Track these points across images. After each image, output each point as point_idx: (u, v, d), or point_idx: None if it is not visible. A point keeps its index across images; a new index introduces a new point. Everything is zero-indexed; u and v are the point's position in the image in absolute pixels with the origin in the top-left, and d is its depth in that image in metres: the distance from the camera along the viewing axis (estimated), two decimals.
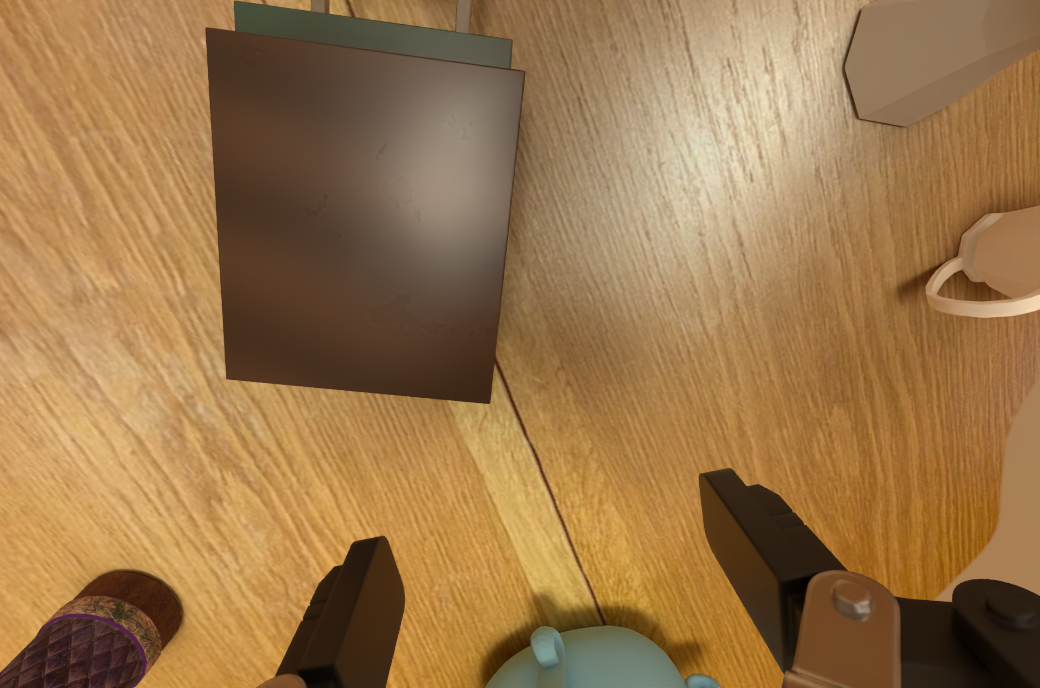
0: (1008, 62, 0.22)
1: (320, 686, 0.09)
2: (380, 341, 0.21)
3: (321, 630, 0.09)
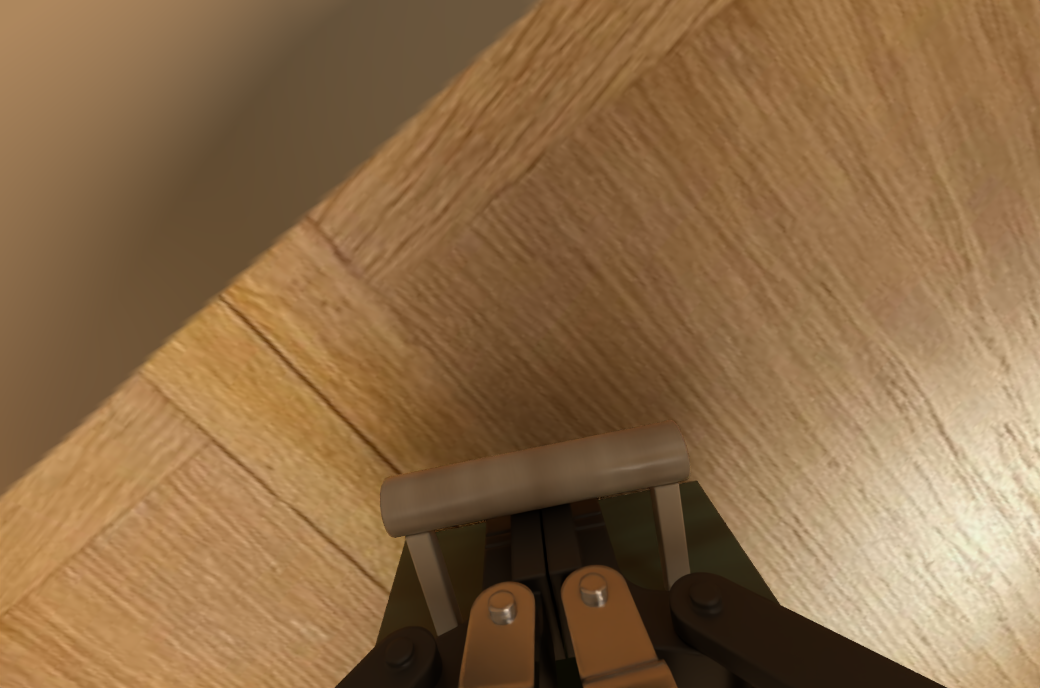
0: None
1: None
2: None
3: (518, 551, 0.10)
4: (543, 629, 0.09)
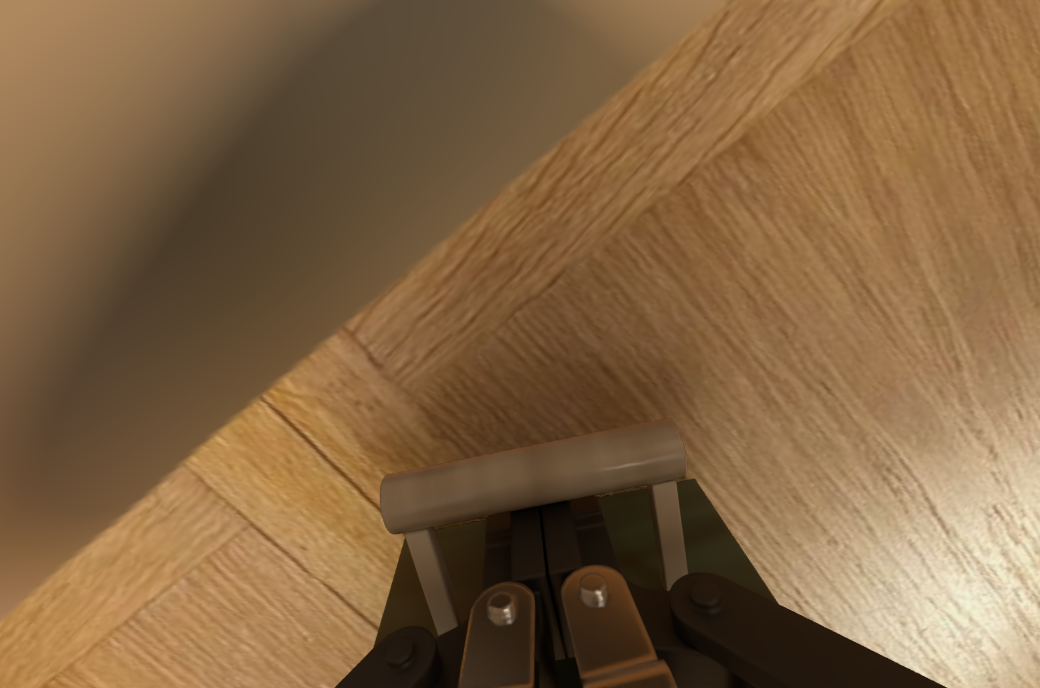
0: None
1: None
2: None
3: (518, 551, 0.10)
4: (543, 629, 0.09)
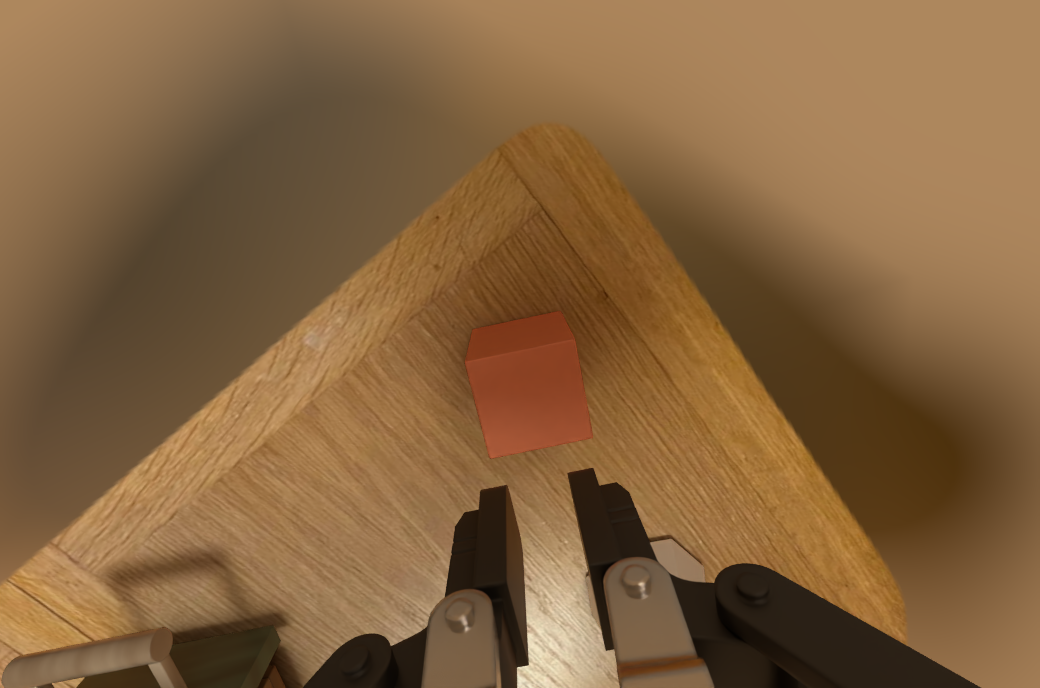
0: None
1: (493, 603, 0.10)
2: None
3: (482, 558, 0.10)
4: (500, 636, 0.09)
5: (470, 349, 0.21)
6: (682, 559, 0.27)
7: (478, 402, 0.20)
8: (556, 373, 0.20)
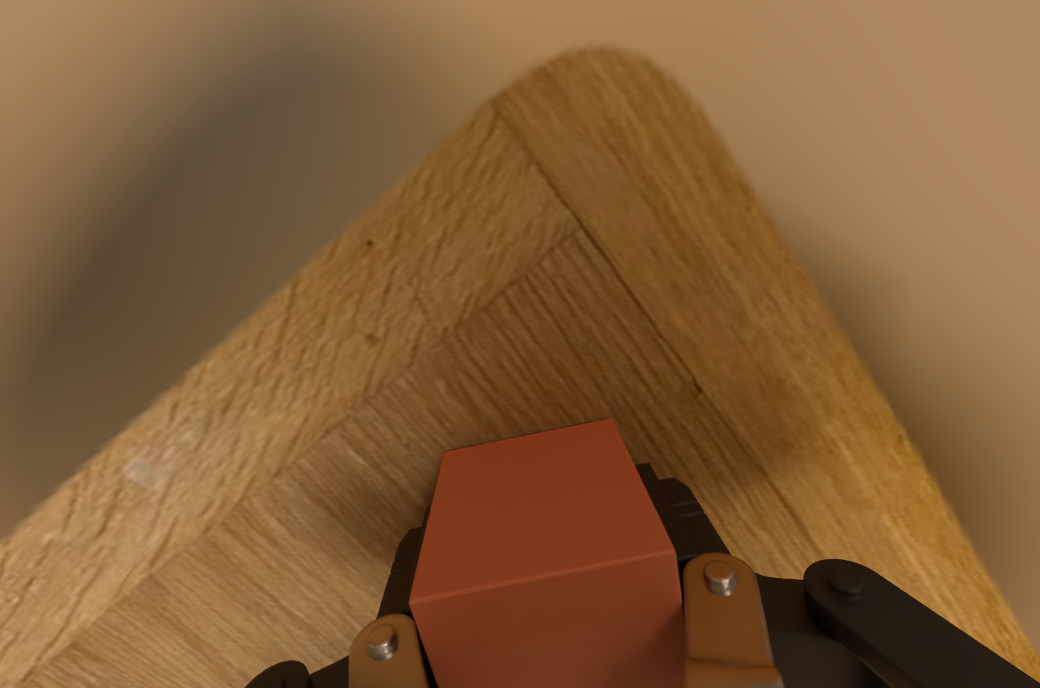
0: None
1: None
2: None
3: None
4: (424, 663, 0.09)
5: (429, 538, 0.10)
6: None
7: (442, 682, 0.09)
8: (627, 623, 0.08)
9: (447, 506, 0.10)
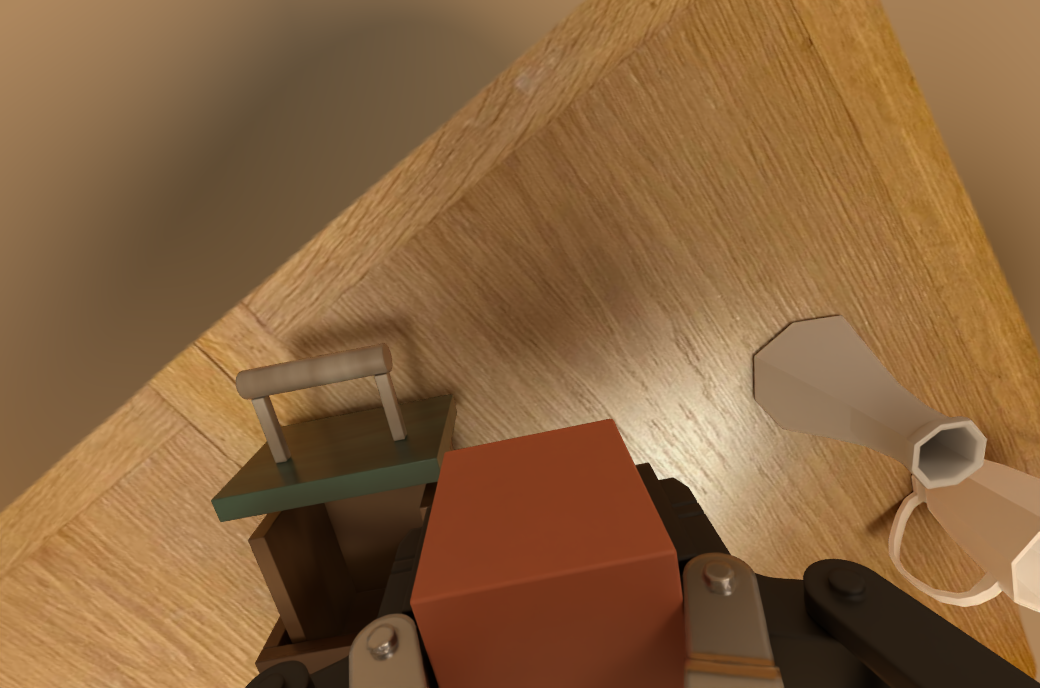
0: None
1: None
2: None
3: None
4: (424, 663, 0.09)
5: (430, 538, 0.10)
6: None
7: (444, 682, 0.09)
8: (628, 623, 0.08)
9: (448, 506, 0.10)
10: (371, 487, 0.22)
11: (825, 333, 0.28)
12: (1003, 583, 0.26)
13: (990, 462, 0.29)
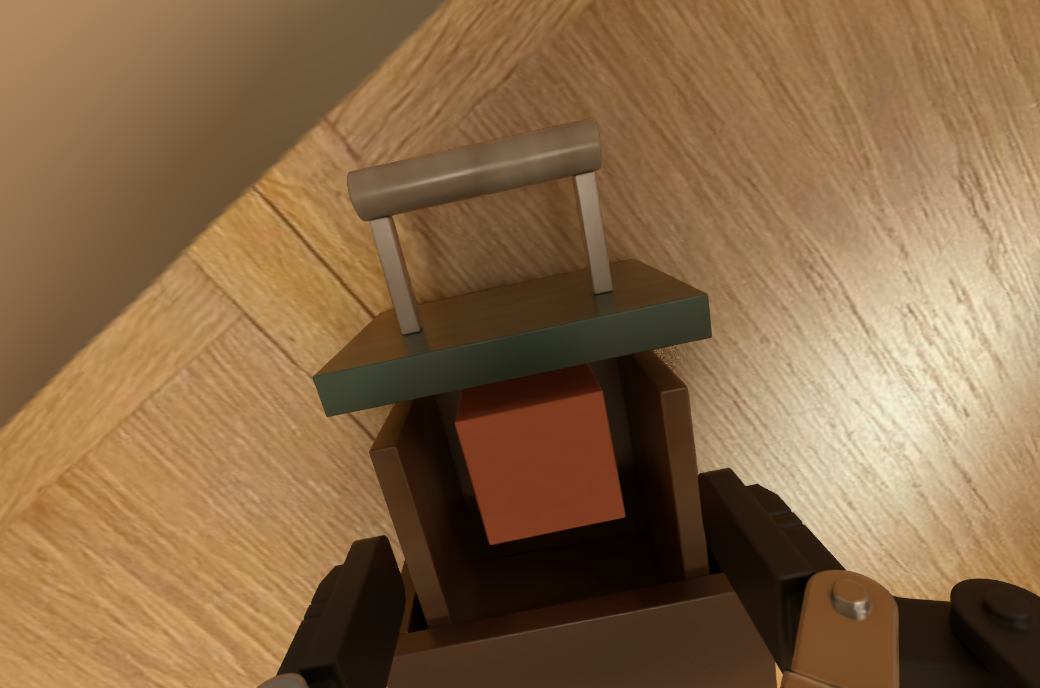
0: None
1: (321, 685, 0.09)
2: None
3: (322, 629, 0.09)
4: None
5: (463, 401, 0.16)
6: None
7: (473, 474, 0.15)
8: (577, 436, 0.15)
9: (472, 388, 0.17)
10: (589, 350, 0.13)
11: None
12: None
13: None
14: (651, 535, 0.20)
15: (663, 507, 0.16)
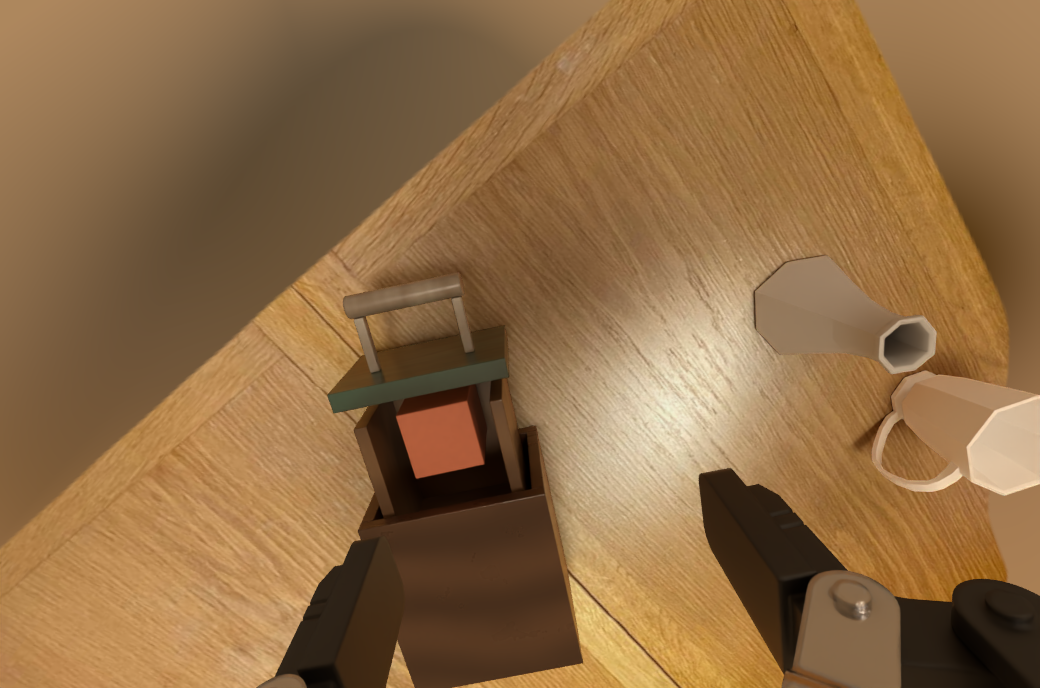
0: None
1: (320, 686, 0.09)
2: (503, 649, 0.33)
3: (321, 630, 0.09)
4: None
5: (402, 405, 0.31)
6: None
7: (406, 442, 0.30)
8: (456, 423, 0.30)
9: (409, 398, 0.32)
10: (453, 383, 0.28)
11: (813, 268, 0.33)
12: (962, 468, 0.32)
13: (954, 377, 0.35)
14: None
15: None
